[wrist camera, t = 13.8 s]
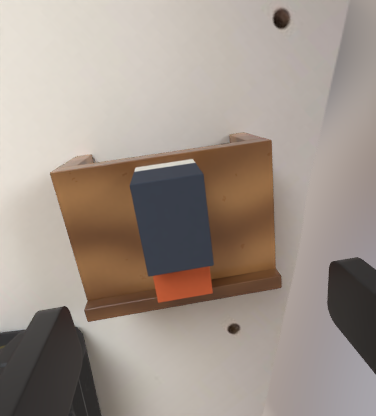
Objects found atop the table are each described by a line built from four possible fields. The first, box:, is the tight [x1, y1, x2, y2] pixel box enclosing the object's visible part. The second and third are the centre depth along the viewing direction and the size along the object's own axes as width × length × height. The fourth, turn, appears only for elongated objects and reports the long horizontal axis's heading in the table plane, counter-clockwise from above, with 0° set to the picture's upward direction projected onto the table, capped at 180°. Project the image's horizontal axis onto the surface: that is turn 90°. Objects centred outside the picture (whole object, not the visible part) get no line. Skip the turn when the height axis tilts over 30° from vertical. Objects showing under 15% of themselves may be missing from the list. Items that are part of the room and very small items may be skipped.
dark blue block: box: [130, 159, 214, 303], centre depth 20 cm, size 10×4×5 cm, turn 7°
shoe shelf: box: [50, 132, 282, 322], centre depth 26 cm, size 12×16×8 cm
